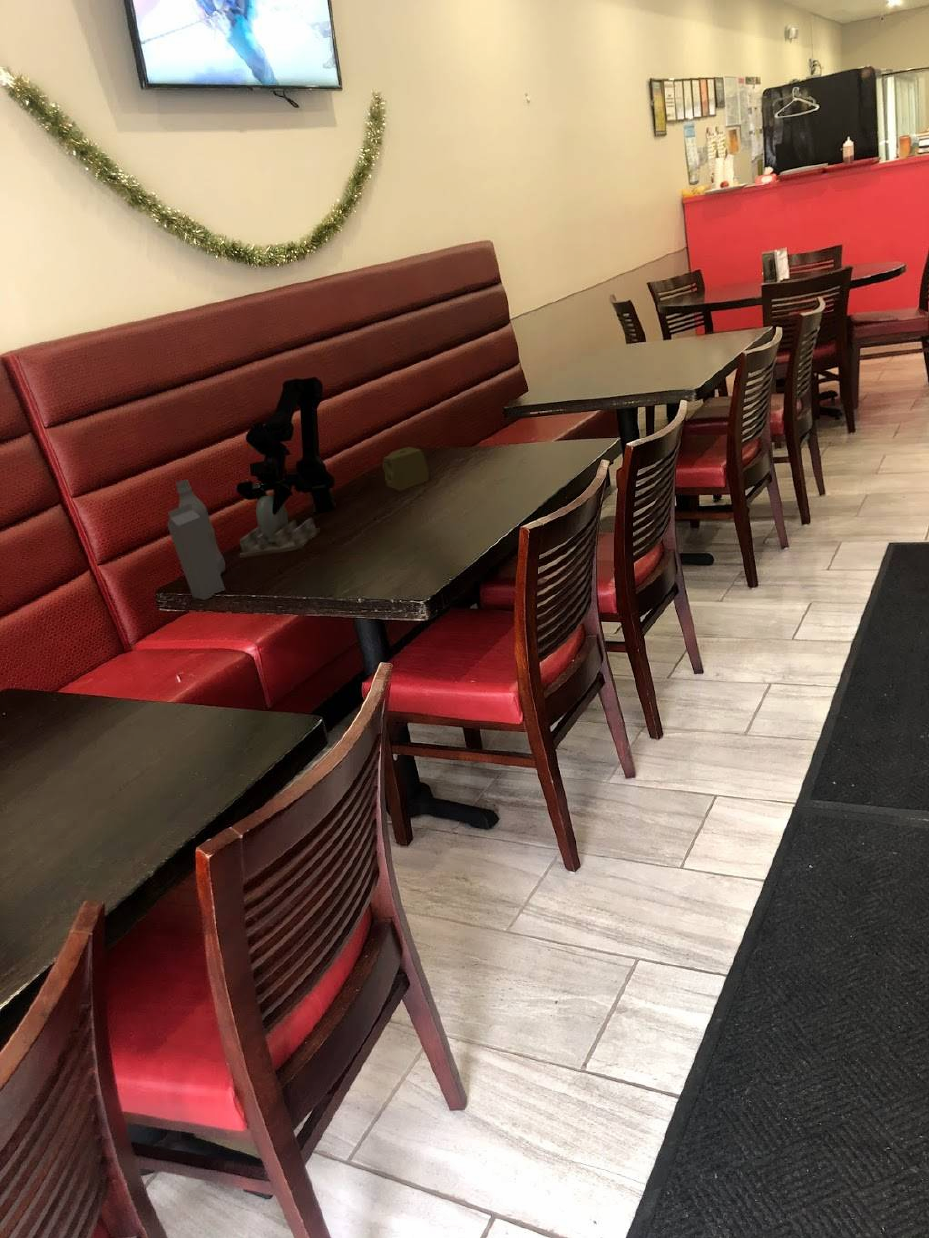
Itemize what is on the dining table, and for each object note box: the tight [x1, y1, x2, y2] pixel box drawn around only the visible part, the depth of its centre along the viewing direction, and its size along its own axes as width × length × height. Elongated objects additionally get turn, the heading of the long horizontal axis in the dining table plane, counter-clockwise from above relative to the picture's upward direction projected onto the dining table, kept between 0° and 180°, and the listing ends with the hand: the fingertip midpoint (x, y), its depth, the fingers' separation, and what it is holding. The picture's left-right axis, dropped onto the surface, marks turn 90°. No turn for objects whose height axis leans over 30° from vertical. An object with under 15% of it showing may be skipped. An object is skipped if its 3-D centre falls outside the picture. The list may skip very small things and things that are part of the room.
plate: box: [255, 493, 289, 542], centre depth 263 cm, size 12×3×12 cm, turn 164°
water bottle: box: [175, 479, 226, 576], centre depth 249 cm, size 7×7×25 cm
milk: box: [166, 504, 226, 601], centre depth 235 cm, size 6×6×22 cm
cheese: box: [382, 446, 430, 492], centre depth 296 cm, size 10×11×10 cm
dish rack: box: [238, 517, 322, 559], centre depth 265 cm, size 14×18×4 cm
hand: (269, 515), depth 262 cm, fingers closed on plate, 3 cm apart
